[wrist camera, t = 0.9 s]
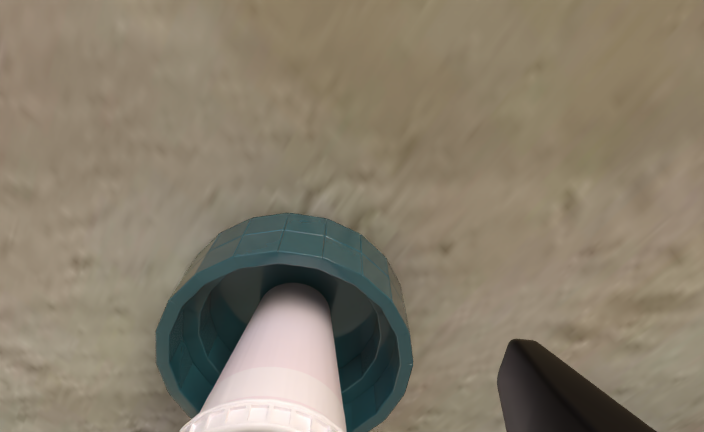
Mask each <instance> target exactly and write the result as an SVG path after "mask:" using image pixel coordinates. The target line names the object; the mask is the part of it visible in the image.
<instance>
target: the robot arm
mask: <svg viewBox="0 0 704 432" xmlns="http://www.w3.org/2000/svg"><path fill="white" fill-rule="evenodd" d="M497 386H498V391H499V396H500V401H501V406H502V411H503V416H504V421H505V425H506V430H507V432H656V431H655V430H653V429H652V428H651V427H649V426H648V425H647V424H645V423H644V422H643V421H641V420H640V419H639V418H637V417H636V416H635V415H633V414H632V413H631V412H629V411H628V410H627V409H625V408H624V407H623V406H621V405H620V404H619V403H617V402H616V401H615V400H613V399H612V398H611V397H609V396H608V395H607V394H605V393H604V392H603V391H601V390H600V389H599V388H597V387H596V386H595V385H594V384H592V383H591V382H590V381H588V380H587V379H586V378H584V377H583V376H582V375H580V374H579V373H578V372H576V371H575V370H574V369H572V368H571V367H570V366H568V365H567V364H566V363H564V362H563V361H562V360H560V359H559V358H558V357H556V356H555V355H554V354H552V353H551V352H550V351H548V350H547V349H546V348H544V347H543V346H542V345H540V344H539V343H538V342H536V341H533V340H524V339H513V340H511V341H510V342H509V344H508V346H507V349H506V352H505V355H504V358H503V361H502V364H501V366H500V369H499V372H498V377H497Z"/></svg>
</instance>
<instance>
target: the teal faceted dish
mask: <svg viewBox="0 0 704 432" xmlns="http://www.w3.org/2000/svg"><path fill="white" fill-rule="evenodd" d="M285 283H300V284H305V285H308V286H310V287H312V288H314V289H316V290H317V291H319V292H320V293H321V294H322V295H323V296H324V298H325V299H326V301H327V302H328V305H329V308H330V315H331V322H332V329H333V336H334V344H335V351H336V358H337V366H338V373H339V380H340V387H341V395H342V402H343V409H344V414H345V421H346V430H347V432H369V431H370V430H372V429H373V428H374V427H376V426H377V425H379V424H380V423H382V422H383V421H384V420H385V419H386V418H387V417H388V416H389V414H390V413H391V412H392V410H393V409H394V408H395V406H396V405H397V404H398V402H399V401H400V400H401V398H402V397H403V396H404V394H405V391H406V388H407V384H408V381H409V378H410V374H411V371H412V367H413V355H412V347H411V339H410V331H409V326H408V321H407V316H406V311H405V306H404V300H403V295H402V290H401V286H400V283H399V281H398V279H397V277H396V276H395V274H394V272H393V270H392V268H391V266H390V264H389V262H388V261H387V259H386V258H385V256H384V255H383V254H382V253H380V252H379V251H378V250H377V249H376V248H375V247H374V246H373V245H372V244H371V243H370V242H369V241H367V240H366V239H365V238H364V237H363V236H362V235H360V234H359V233H357V232H355V231H353V230H350V229H348V228H346V227H344V226H342V225H340V224H338V223H335V222H333V221H331V220H329V219H327V220H326V218H320V217H313V216H307V215H300V214H293V213H283V214H276V215H269V216H262V217H255V218H252V219H249V220H247V221H245V222H242V223H240V224H238V225H236V226H234V227H232V228H230V229H228V230H226V231H224V232H221V233H220V234H218V235H217V236H216V237H215V238H214V239H213V240H212V241H211V242H210V243H209V244H208V245H207V246H206V247H205V248H204V249H203V250H202V251H201V252H200V253H199V254H198V255H197V257H196V258H195V260H194V261H193V263H192V264H191V266H190V268H189V269H188V271H187V272H186V274H185V275H184V277H183V278H182V280H181V282H180V283H179V285H178V286H177V288H176V289H175V291H174V293H173V294H172V296H171V297H170V299H169V300H168V303H167V305H166V307H165V310H164V312H163V314H162V317H161V319H160V322H159V324H158V326H157V329H156V363H157V367H158V369H159V372H160V374H161V377H162V379H163V381H164V384H165V386H166V389H167V391H168V393H169V395H170V396H171V397H172V398H173V399H174V400H175V401H176V403H177V404H178V405H179V406H180V407H181V408H182V409H183V411H184V412H185V413H186V414H187V415H188V416H189V417H190V418H194V417H195V416H196V415H197V414H199V413H200V411H201V409H202V407H203V405H204V403H205V401H206V399H207V398H208V396H209V394H210V393H211V391H212V389H213V387H214V386H215V384H216V382H217V380H218V378H219V376H220V375H221V373H222V371H223V369H224V367H225V365H226V364H227V362H228V360H229V358H230V356H231V354H232V353H233V351H234V349H235V347H236V345H237V343H238V342H239V340H240V338H241V336H242V334H243V332H244V331H245V329H246V327H247V325H248V323H249V321H250V320H251V318H252V316H253V314H254V312H255V310H256V309H257V307H258V305H259V303H260V301H261V299H262V298H263V296H264V295H265V294H266V293H267V292H268V291H269V290H270V289H272V288H274V287H276V286H278V285H281V284H285Z"/></svg>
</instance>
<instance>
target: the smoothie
mask: <svg viewBox="0 0 704 432" xmlns="http://www.w3.org/2000/svg"><path fill="white" fill-rule="evenodd" d="M179 432H347V430H346V421H345V414H344V409H343V402H342V395H341V387H340V380H339V373H338V366H337V358H336V351H335V344H334V336H333V329H332V322H331V315H330V308H329V305H328V302H327V301H326V299H325V298H324V296H323V295H322V294H321V293H320V292H319V291H317V290H316V289H314V288H312V287H310V286H308V285H305V284H300V283H285V284H281V285H278V286H276V287H274V288H272V289H270V290H269V291H268V292H267V293H266V294H265V295H264V296H263V298H262V299H261V301H260V303H259V305H258V307H257V309H256V310H255V312H254V314H253V316H252V318H251V320H250V321H249V323H248V325H247V327H246V329H245V331H244V332H243V334H242V336H241V338H240V340H239V342H238V343H237V345H236V347H235V349H234V351H233V353H232V354H231V356H230V358H229V360H228V362H227V364H226V365H225V367H224V369H223V371H222V373H221V375H220V376H219V378H218V380H217V382H216V384H215V386H214V387H213V389H212V391H211V393H210V394H209V396H208V398H207V399H206V401H205V403H204V405H203V407H202V409H201V411H200V413H199V414H197V415H196V416H195V417H194V418H192V419H191V420H190V421H189V422H188V423H186V424H185V425H184V426H183V427H182V428H181V430H180V431H179Z"/></svg>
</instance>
